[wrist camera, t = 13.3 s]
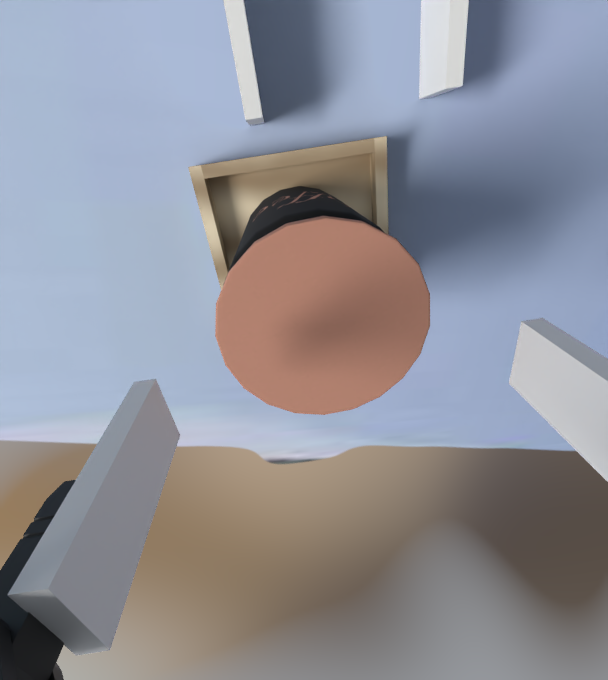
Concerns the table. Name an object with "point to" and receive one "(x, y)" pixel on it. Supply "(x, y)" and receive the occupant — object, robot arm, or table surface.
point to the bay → (435, 51)
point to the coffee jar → (319, 305)
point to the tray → (286, 172)
